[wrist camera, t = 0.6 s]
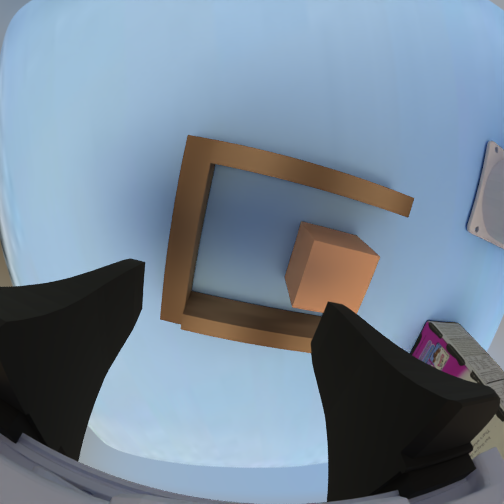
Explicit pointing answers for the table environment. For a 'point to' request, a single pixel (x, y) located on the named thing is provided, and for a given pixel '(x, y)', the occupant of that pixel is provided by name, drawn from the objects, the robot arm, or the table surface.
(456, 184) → the table surface
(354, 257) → the cube
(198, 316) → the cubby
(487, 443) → the candy bar box
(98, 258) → the table surface
